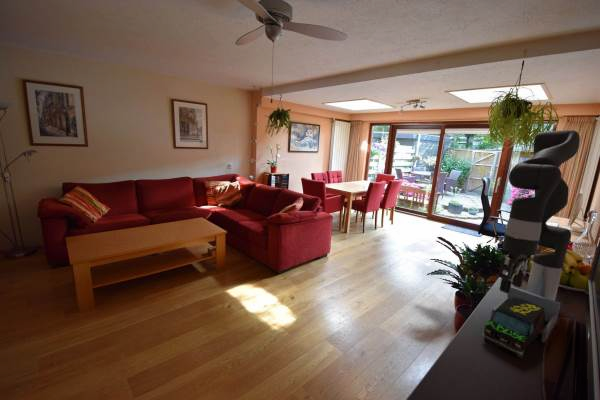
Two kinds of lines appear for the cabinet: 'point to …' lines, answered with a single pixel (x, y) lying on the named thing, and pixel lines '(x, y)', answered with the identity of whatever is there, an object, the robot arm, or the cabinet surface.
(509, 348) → the toy van
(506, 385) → the cabinet surface
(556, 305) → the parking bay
